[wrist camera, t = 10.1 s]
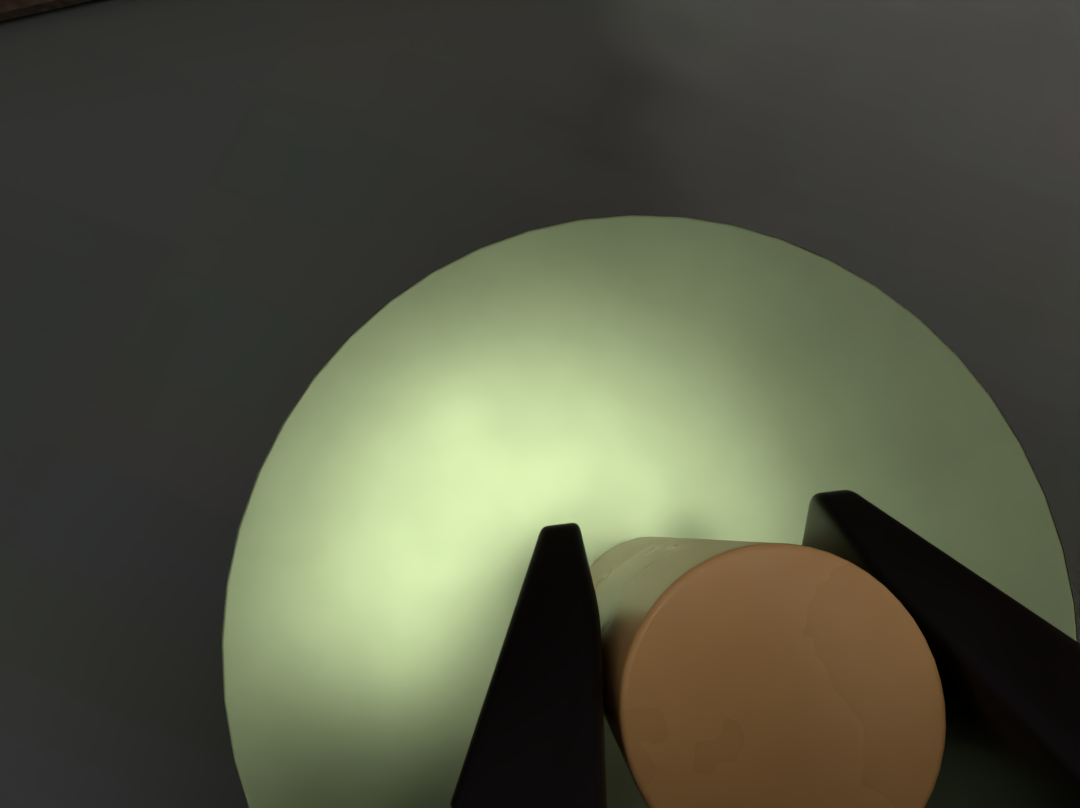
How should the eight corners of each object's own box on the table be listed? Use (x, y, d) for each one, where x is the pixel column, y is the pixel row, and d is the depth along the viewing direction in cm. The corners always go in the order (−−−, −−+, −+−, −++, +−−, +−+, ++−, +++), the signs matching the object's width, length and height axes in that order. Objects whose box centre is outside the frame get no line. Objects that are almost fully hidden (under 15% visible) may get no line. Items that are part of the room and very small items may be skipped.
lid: (1182, 816, 13) (1968, 1156, 6) (439, 1222, 12) (323, 2244, 5) (807, 128, 15) (1072, -240, 8) (128, 421, 14) (-295, 305, 6)
